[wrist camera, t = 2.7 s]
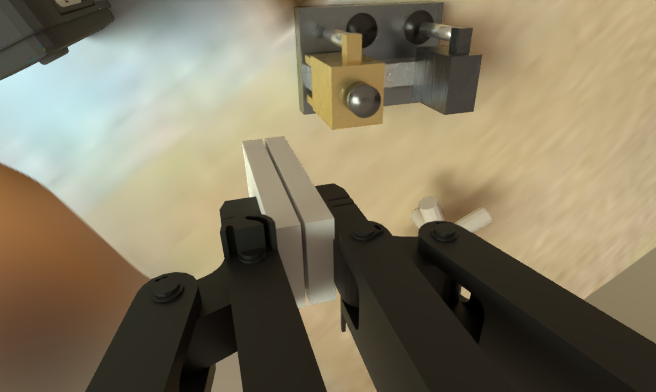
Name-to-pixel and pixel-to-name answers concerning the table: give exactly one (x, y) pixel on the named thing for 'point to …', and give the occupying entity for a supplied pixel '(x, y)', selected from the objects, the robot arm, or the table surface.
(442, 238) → the robot arm
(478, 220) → the pipe connector
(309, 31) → the bolt plate
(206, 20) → the table surface
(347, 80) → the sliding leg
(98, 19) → the card reader
